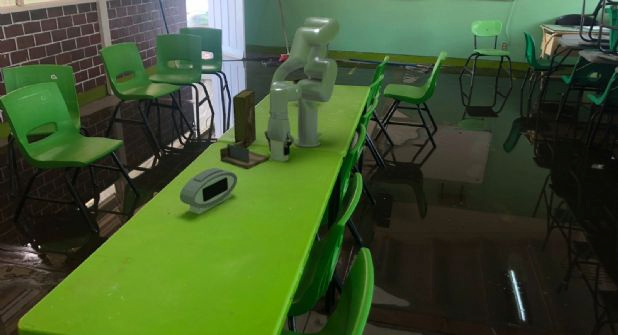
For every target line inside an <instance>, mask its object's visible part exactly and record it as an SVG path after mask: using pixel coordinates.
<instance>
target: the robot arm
mask: <svg viewBox="0 0 618 335" xmlns="http://www.w3.org/2000/svg"><path fill="white" fill-rule="evenodd" d="M340 26H341V25H340V22H339V21H338V20H337V19H336V18H334V17H321V16H309V17H307V18H305V20H304V22H303V26H301V27H298V28H297V29H296V32H295V35H294V37H293V41H292V44H291V48H290V51H289V56H288V58H287V59H286V60H285V61H284V62H282V64H280V66H278V68H277V69H276V71H275V72H274V74H273V77H272V80H271V83H270V89H269V104H270V105H269V111H268V114H269V115H270V116H269V117H268V120H267V128H266V129H267V130H265V131H264V133H263V134H264V135H265V138H266V140H267V142H268V144H269V149H268V150H269V152H270V153H271V144H270V139H271V140H275V141H278V142H284V145H285V147H284V155H285V156H286V155H288V156H289V155H290V154H291V151H290V150H291V148H290V147H291V146H292V145H293V143H294V145H295V146H297V147H299V148H303V149H304V148H305V149H309V148H311V149H312V148H316V147H317V148H318V147H319V146H320V145H321V141H320V140H319V138H320V137H322V135H323V133H322V132H318V123H319V122H318V120H319V119H318V118H319V117H318V116H319V115H318V114H319V110H318V109H319V108H318V105H317V103H316V102H318V103H327V102H329V101H330V100H331V98H332V96H333V92H334V88H335V84H336V79H337V76H338V75H337V74H338V64H337V61H335V60H334V59H331V58H326V56H327V50H328V48H327V45H328V44H329V43H330V42H331V41H333V40H334V39H335V38H336V37H337V35H338V34H339V31H340ZM300 68H303V73H304V75H305V76H306V77H308V78H302V79H303V80H300V81H299V82H298V83H297V84H293V83H290V82H286V81H284V80H285V78H286V77H287V75H289V74H290V73H292V72H293V71H295V70H299V69H300ZM309 77H310V78H313V79H314V80H309V79H310V78H309ZM316 79H321V80H317V81H316ZM296 101H298V102H297V139H295V138H294V136H293V135H292V134H291V125H290V120H289V119H290V118H289V117H288V116H289V115H288V113H289V112H288V106H289V103H290V102H296ZM286 139H287V140H286ZM286 141H287V143H288V144H287V143H286Z"/></svg>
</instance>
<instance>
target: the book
mask: <svg viewBox="0 0 618 335" xmlns="http://www.w3.org/2000/svg"><path fill="white" fill-rule="evenodd" d="M255 98H256V97H255V90H254V89H248V88H247V89H242V90H241V91H239V92H238V93H237V94H235V95H234V96H233V97H232V108H233V112H232V113H233V128H234V144H235V143H238V142H241V141H244V148H245V149H248V148H249V147H250V146H251V145H253V143H254V142H255V141H256V140H257V136H256V135H257V133H256V132H257V130H256V129H257V128H256V103H255V102H256V101H255Z"/></svg>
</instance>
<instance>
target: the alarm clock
mask: <svg viewBox="0 0 618 335" xmlns="http://www.w3.org/2000/svg"><path fill="white" fill-rule="evenodd" d="M237 183H238V176H237V174H236V173H234V172H232V171H228V170H224V169H223V168H222V169H221V168H217V167H212V168H211V167H210V168H207V169H205V170H203V171H201V172H200V173H198V174H196V175H194V176H193V177H192V178H190V179H189V180H188V181H187V182H186V183H185V184H184V186H183V187H182V189H181V191H180V193H179V198H180V202H182V203H183V204H186V205H189V211H190V212H192V213H194V214H198V215H201V214H202V213H205V212H206V211H208V210H210V209H211V208H214V207H215V206H217V205H219V204H220V203H222V202H224V201H226V200H228V199H230V198H231V197H232V195H231V193H232V192H233V191H234V189H235V187H236V185H237Z"/></svg>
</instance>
